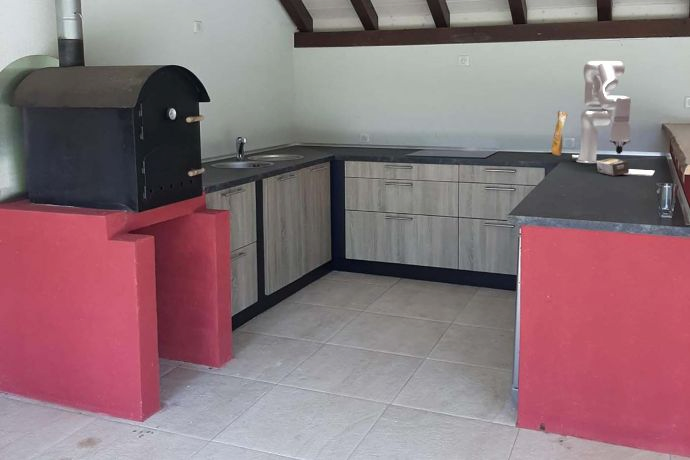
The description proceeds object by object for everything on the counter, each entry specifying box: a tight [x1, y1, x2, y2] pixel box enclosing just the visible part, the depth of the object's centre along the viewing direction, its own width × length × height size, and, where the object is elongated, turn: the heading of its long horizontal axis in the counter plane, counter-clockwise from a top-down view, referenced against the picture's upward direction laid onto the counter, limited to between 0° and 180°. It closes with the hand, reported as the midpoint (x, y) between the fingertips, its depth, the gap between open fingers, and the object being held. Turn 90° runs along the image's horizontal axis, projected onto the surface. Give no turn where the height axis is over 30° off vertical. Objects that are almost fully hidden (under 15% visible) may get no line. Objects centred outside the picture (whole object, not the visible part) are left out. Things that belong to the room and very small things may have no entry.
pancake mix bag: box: [551, 110, 568, 156], centre depth 481 cm, size 7×19×28 cm, turn 173°
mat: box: [624, 168, 655, 177], centre depth 397 cm, size 20×16×1 cm
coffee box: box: [596, 157, 629, 177], centre depth 393 cm, size 9×6×16 cm
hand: (618, 153), depth 399 cm, fingers closed
